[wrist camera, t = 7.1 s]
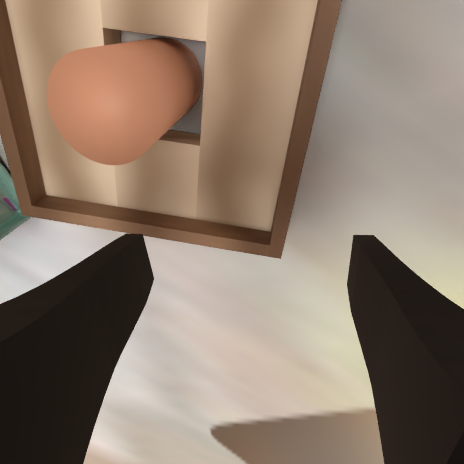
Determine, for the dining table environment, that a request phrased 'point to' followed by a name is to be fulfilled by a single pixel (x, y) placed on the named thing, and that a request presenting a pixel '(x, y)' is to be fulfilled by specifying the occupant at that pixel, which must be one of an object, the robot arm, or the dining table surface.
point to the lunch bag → (9, 205)
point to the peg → (122, 96)
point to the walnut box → (173, 142)
